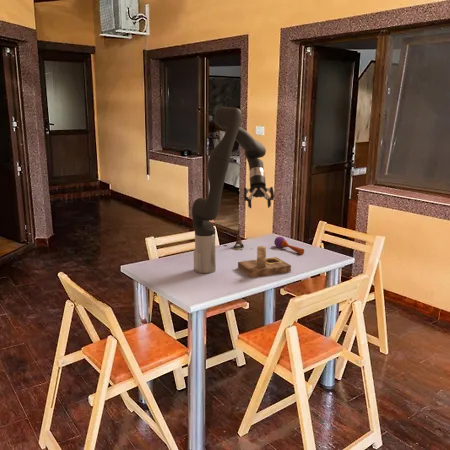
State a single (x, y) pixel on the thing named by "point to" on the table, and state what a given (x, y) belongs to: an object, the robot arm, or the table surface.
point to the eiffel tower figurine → (238, 242)
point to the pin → (261, 256)
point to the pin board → (272, 267)
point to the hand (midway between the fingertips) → (259, 207)
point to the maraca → (287, 245)
